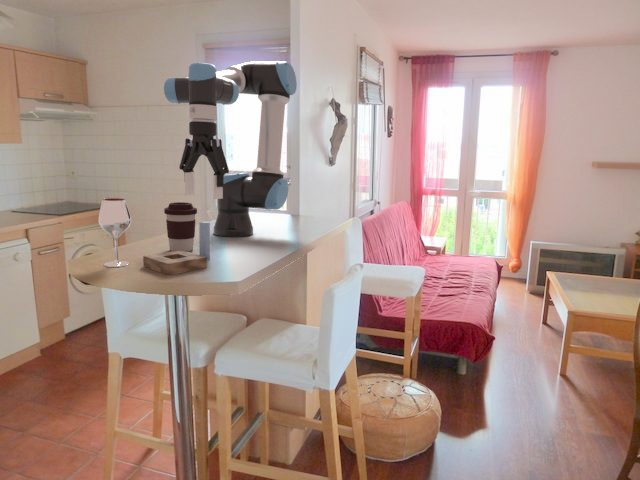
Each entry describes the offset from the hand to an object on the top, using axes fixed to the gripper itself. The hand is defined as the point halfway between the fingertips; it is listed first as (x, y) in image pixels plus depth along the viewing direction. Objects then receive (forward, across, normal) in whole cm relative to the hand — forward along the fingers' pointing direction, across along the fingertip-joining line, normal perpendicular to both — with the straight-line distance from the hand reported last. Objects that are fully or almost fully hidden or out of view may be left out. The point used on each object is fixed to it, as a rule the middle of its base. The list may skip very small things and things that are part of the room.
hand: (203, 196), depth 140 cm
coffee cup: (+19, -15, +2) cm, 24 cm away
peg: (+19, 0, 0) cm, 19 cm away
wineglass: (+19, -10, -22) cm, 30 cm away
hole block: (+19, +3, -12) cm, 22 cm away
